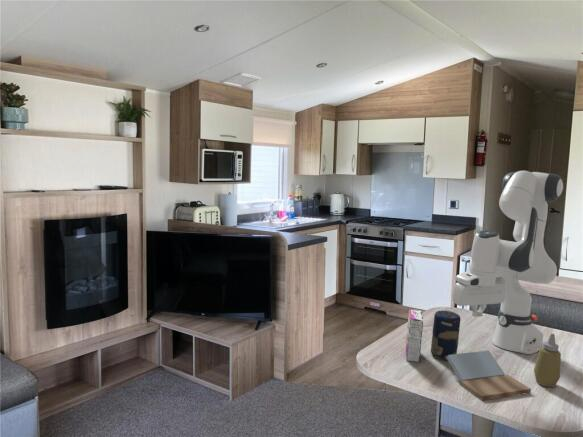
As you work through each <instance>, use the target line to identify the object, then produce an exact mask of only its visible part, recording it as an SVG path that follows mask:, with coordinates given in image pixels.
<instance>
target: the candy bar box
mask: <svg viewBox="0 0 583 437" xmlns="http://www.w3.org/2000/svg"><path fill="white" fill-rule="evenodd" d="M407 318H408V320H407V330H406V339H405V340H406V342H405V354H406V361H407V362H413V363H414V362H415V363H420V359H421V348H422V338H423V325H424V318H423V312H422V310H415V309H409V310H408V317H407Z"/></svg>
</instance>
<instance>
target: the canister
mask: <svg viewBox="0 0 583 437" xmlns="http://www.w3.org/2000/svg"><path fill="white" fill-rule="evenodd" d="M461 320H462V319H461V316H460V315H459V314H458V313H457V312H453V311H450V310H437V311H436V312H435V313H434V317H433V324H432V335H431V336H432V337H431V343H430V344H431V346H430V353H431V355H433V357H435V358H437V359H440V360H447V358H446V357H447V356H448V355H453V354H458V346H459V337H460V328H461ZM447 361H448V360H447Z"/></svg>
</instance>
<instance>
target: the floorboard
mask: <svg viewBox="0 0 583 437" xmlns="http://www.w3.org/2000/svg"><path fill="white" fill-rule="evenodd" d="M460 386H461V387H462V388H463V389H464V390H466V391H468V392H469V393H470V394H472V395H473V396H474V397H476V398H477V399H478V400H480V401H489V400H493V399H500V398H506V397H507V398H508V397H514V396H513V395H515V396H519V395H518V394H521V395H524V394H523V393H528V394H530V393H531V391H532V389H531V388H530V387H528V386H527V385H526V384H524V383H523V382H521V381H519V380H517V379H516V378H514V377H512V376H510V375H509V374H505V375H503V376H495V377H488V378H480V379H473V380H466V381H460ZM529 392H530V393H529Z"/></svg>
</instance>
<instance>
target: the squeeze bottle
mask: <svg viewBox="0 0 583 437" xmlns="http://www.w3.org/2000/svg"><path fill="white" fill-rule="evenodd" d="M543 342H544V343H543V347H542V348H540V349H539V352H537V353H538V355H537V357H536V361H535V365H534V369H533V373H534V377H535V382H536V383H537V384H538V383H539V385H540V384H541V385H540V386H542V385H543V387H546V386H548V387H547V388H554V387H556V385H557V383H558V382H559V380H560V378H561V360H562V359H561V358H562V357H561V354H562V353H561V352H560V351H559V349H560V348H559V344H557V343H556V336H555V333H550V335H549V336H548V339H547V341H543ZM553 386H554V387H553Z"/></svg>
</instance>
